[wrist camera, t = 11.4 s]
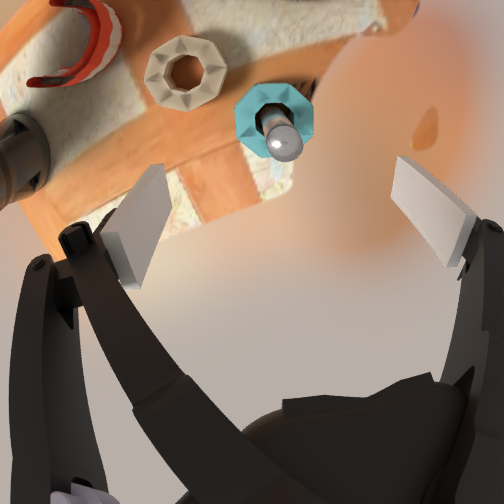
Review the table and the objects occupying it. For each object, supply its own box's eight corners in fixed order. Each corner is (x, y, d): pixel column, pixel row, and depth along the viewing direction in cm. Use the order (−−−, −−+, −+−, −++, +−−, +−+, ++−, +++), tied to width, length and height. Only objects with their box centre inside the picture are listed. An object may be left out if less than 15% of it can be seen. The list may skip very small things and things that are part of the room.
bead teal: (239, 151, 36) (238, 159, 33) (233, 84, 30) (232, 86, 28) (307, 148, 36) (312, 156, 33) (307, 82, 30) (313, 84, 27)
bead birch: (175, 118, 33) (169, 123, 30) (142, 64, 28) (132, 64, 25) (238, 85, 31) (237, 86, 28) (205, 27, 25) (200, 23, 23)
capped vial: (260, 128, 34) (267, 163, 23) (259, 106, 32) (266, 128, 21) (284, 127, 34) (303, 162, 23) (283, 105, 32) (304, 127, 21)
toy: (115, 88, 30) (86, 97, 23) (59, 79, 27) (25, 88, 21) (145, 5, 23) (120, -6, 16) (83, 1, 20) (51, -5, 14)
